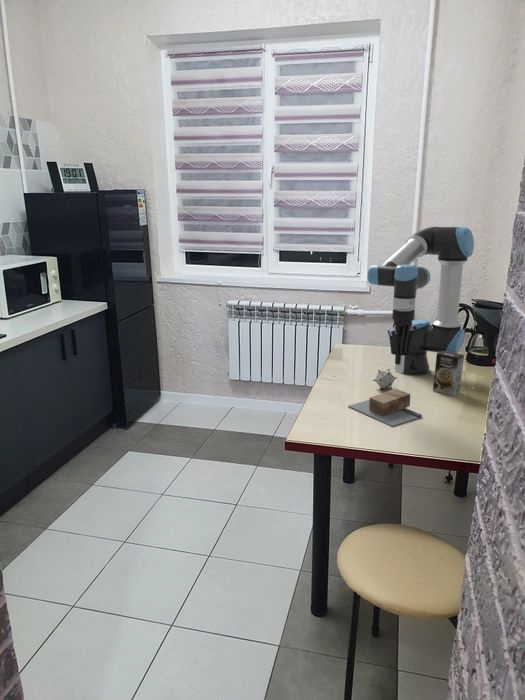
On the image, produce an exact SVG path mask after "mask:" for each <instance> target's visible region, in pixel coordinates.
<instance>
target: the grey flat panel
mask: <svg viewBox="0 0 525 700" xmlns="http://www.w3.org/2000/svg"><path fill="white" fill-rule="evenodd" d="M348 408H349V409H352V410H354V411H356V412H359V413H361V414H363V415H365V416H367V417H369V418H371V419H374V420H376V421H379V422H381V423H383V424H386V425H388V426H389V427H393V428H394V427H396V426H400V425H403V424H405V423H408V422H409V423H410V422H412V421H414V420H418V419H421V418H422V417H423V415H422V414H421V413H418V412H416V411H413V410H411V409H408V408H404V409H401V410H399V411H396V412H394V413H391V414H388V415H386V416H382V415H379V414H377V413H375V412H372V411H370V410H369V399H367V400H364V401H361V402H357V403H353V404H350V405H348Z"/></svg>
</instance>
